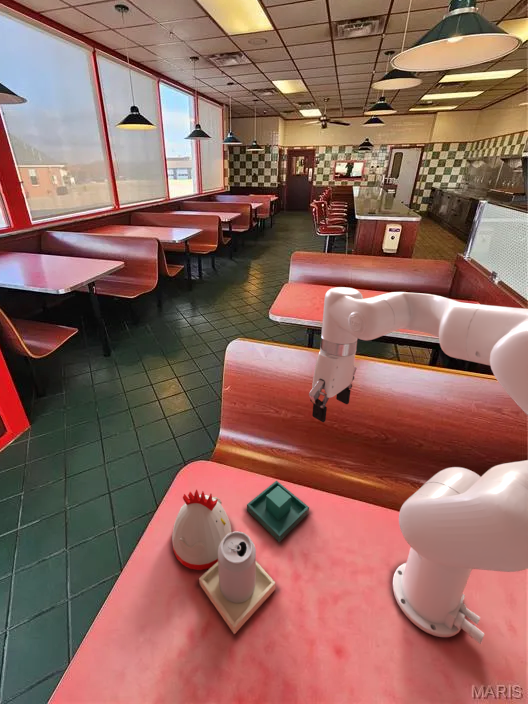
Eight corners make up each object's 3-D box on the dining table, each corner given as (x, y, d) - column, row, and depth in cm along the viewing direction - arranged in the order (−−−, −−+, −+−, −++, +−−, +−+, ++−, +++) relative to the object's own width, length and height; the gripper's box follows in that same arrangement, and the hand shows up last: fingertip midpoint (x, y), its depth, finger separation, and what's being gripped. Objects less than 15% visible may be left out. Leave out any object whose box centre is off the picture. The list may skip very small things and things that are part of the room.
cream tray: (275, 589, 68) (275, 582, 67) (234, 634, 61) (234, 627, 60) (239, 548, 76) (239, 542, 75) (199, 584, 69) (198, 578, 68)
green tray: (308, 513, 84) (309, 507, 83) (279, 542, 77) (279, 536, 76) (276, 486, 92) (276, 480, 91) (246, 510, 85) (246, 504, 84)
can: (252, 610, 64) (252, 570, 60) (215, 601, 65) (212, 561, 61) (258, 569, 71) (258, 530, 66) (224, 562, 72) (222, 524, 68)
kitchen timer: (220, 577, 70) (218, 528, 64) (162, 560, 73) (155, 512, 68) (238, 518, 82) (237, 473, 77) (187, 506, 86) (183, 462, 80)
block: (290, 509, 84) (291, 496, 82) (278, 520, 81) (279, 507, 80) (277, 498, 87) (278, 485, 86) (265, 508, 84) (266, 495, 83)
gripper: (344, 329, 79) (337, 389, 86) (299, 351, 69) (295, 418, 75) (374, 338, 74) (364, 402, 80) (330, 364, 63) (322, 435, 70)
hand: (331, 409), depth 78 cm, fingers open, 9 cm apart
